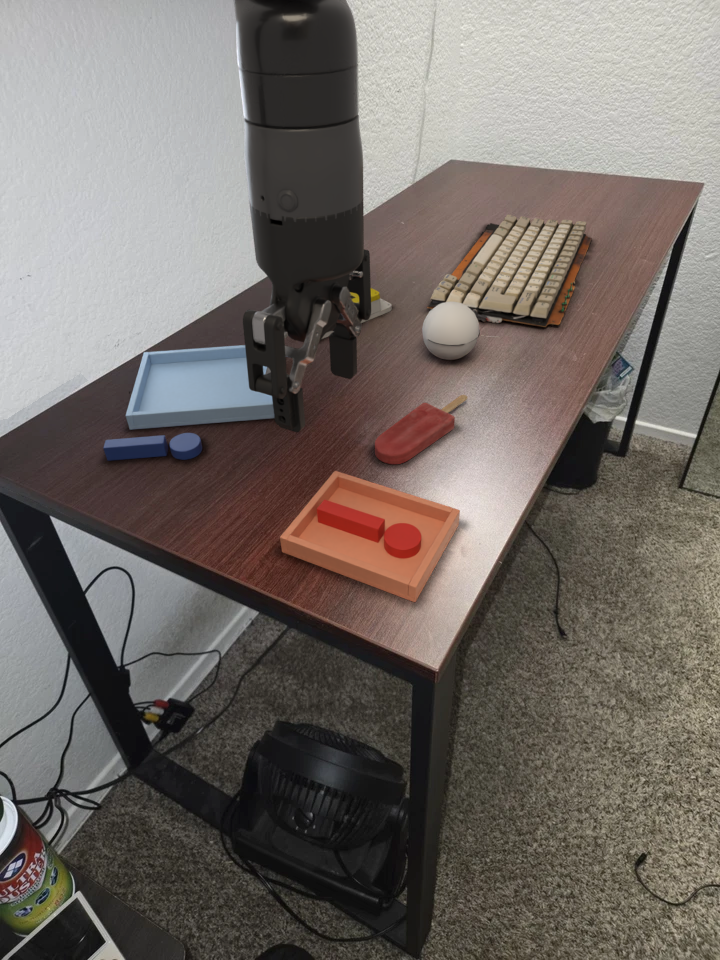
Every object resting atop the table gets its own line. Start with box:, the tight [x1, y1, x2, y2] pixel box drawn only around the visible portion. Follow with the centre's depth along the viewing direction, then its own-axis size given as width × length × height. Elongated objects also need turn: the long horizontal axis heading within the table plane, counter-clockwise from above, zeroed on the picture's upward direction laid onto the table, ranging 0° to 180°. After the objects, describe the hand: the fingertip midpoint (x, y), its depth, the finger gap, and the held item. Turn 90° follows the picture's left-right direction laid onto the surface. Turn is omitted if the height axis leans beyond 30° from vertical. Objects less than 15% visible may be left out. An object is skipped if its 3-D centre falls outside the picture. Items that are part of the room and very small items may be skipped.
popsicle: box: [374, 394, 468, 465], centre depth 74 cm, size 4×2×15 cm
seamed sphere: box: [421, 302, 501, 361], centre depth 84 cm, size 10×7×7 cm
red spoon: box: [317, 499, 421, 559], centre depth 61 cm, size 10×3×2 cm, turn 63°
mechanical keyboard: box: [426, 213, 593, 328], centre depth 105 cm, size 38×19×3 cm, turn 158°
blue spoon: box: [102, 432, 203, 462], centre depth 72 cm, size 10×3×2 cm, turn 96°
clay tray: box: [279, 470, 461, 603], centre depth 61 cm, size 13×10×2 cm
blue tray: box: [125, 344, 275, 431], centre depth 81 cm, size 17×14×2 cm
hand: (318, 400), depth 54 cm, fingers open, 8 cm apart
